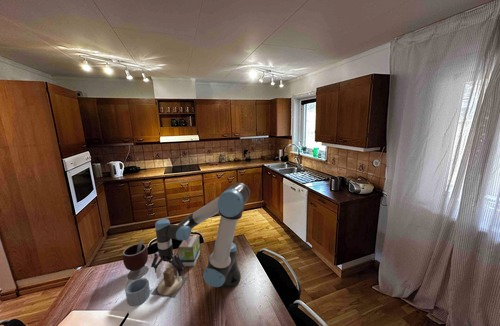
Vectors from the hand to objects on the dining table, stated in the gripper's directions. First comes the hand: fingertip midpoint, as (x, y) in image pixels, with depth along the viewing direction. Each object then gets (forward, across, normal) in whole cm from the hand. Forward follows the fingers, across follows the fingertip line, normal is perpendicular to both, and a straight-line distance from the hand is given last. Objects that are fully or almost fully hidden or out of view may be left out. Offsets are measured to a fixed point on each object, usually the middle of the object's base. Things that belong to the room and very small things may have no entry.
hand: (169, 278), depth 119 cm
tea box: (+6, 0, -24) cm, 25 cm away
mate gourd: (+6, +28, -8) cm, 29 cm away
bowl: (+5, +12, +10) cm, 17 cm away
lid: (+5, 0, 0) cm, 5 cm away
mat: (+5, 0, 0) cm, 5 cm away
